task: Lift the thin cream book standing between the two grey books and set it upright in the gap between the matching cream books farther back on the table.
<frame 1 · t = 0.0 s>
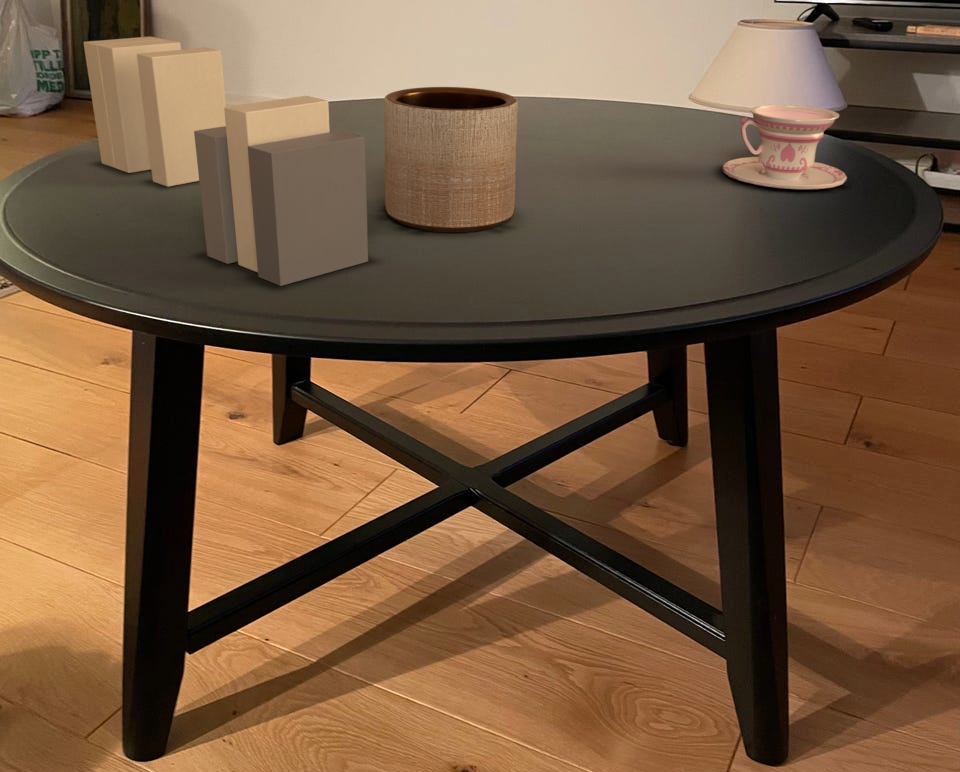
grey books: (287, 258, 76), on the table
planter: (449, 218, 87), on the table
cream book: (287, 258, 76), on the table
cream books: (173, 171, 97), on the table
teacup: (782, 178, 102), on the table
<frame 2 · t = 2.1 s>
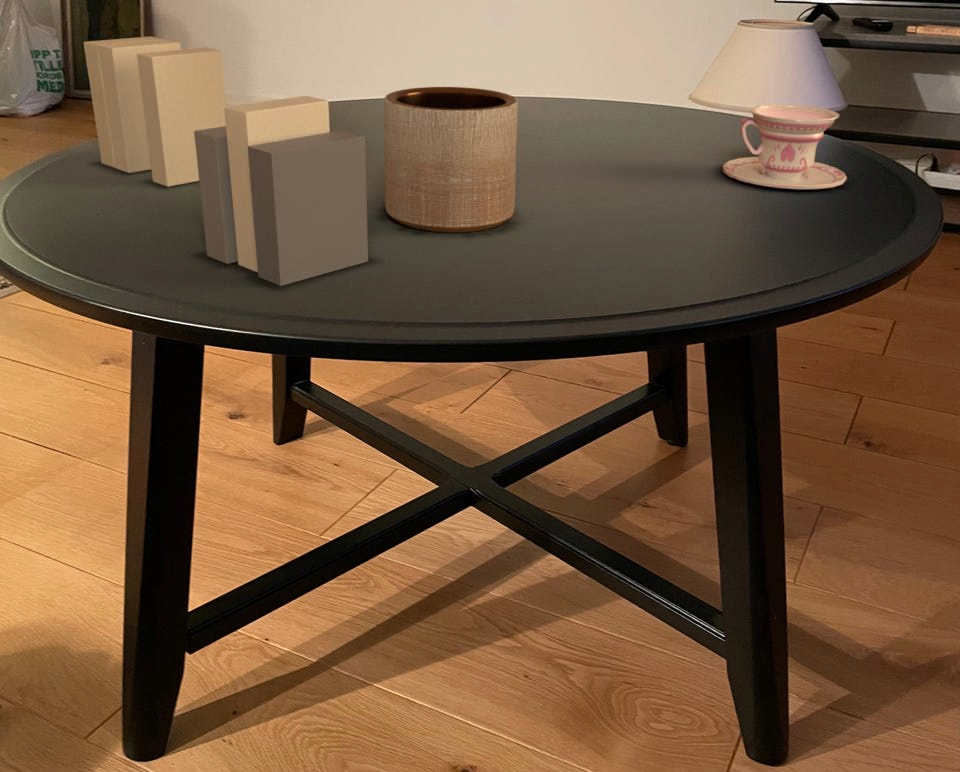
nothing on the table moved.
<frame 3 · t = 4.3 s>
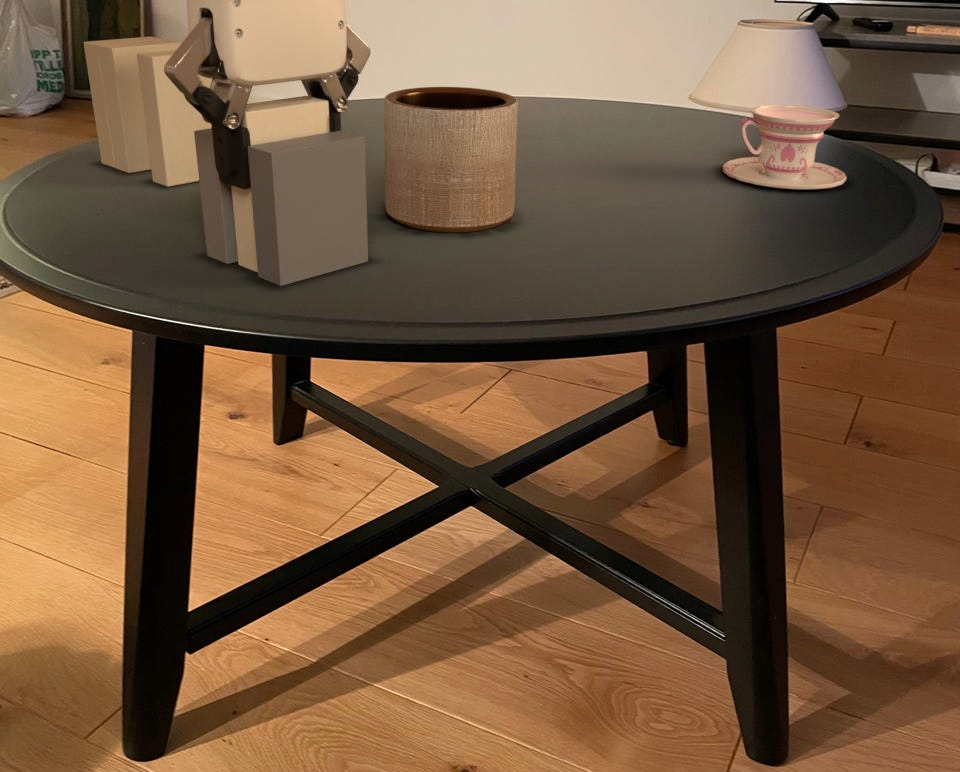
hand: (282, 174, 73), 6 cm above the table, tool pointing down, fingers closed on cream book, 7 cm apart
cream book: (287, 258, 76), on the table, touching gripper
everything else where it was.
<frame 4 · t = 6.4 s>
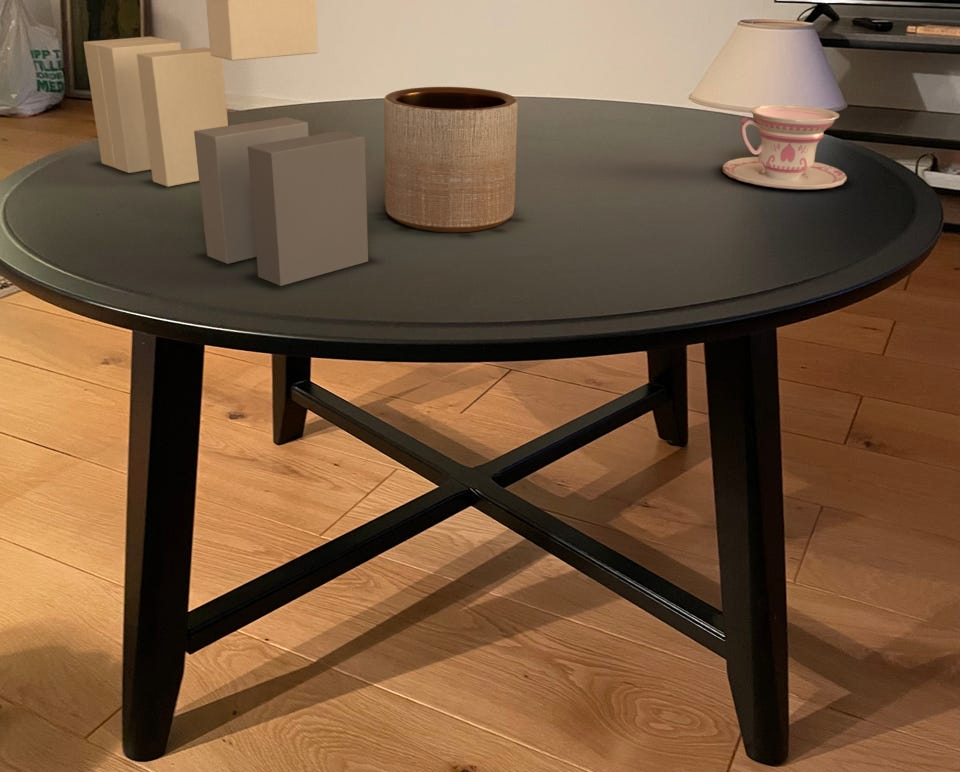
cream book: (265, 54, 69), point 14 cm above the table, touching gripper
everything else where it was.
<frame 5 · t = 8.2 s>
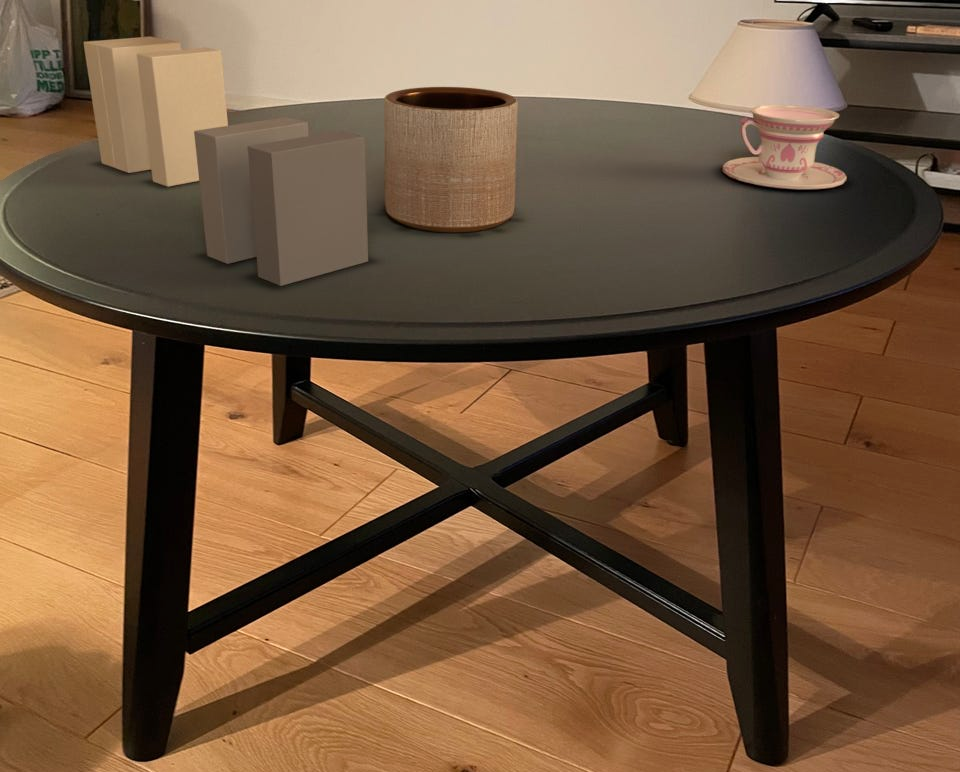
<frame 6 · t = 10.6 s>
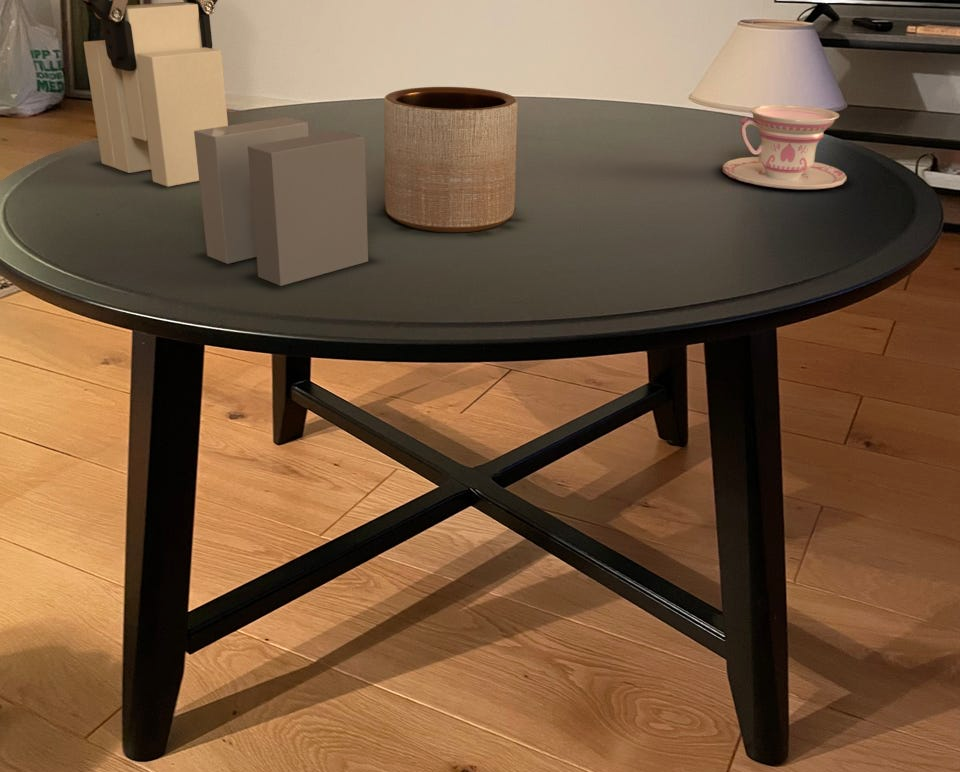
hand: (162, 63, 93), 10 cm above the table, tool pointing down, fingers closed on cream book, 7 cm apart
cream book: (171, 133, 96), point 3 cm above the table, touching gripper
everything else where it was.
when the fingers open (6 cm above the table, at t = 12.2 s): cream book stays where it is, on the table.
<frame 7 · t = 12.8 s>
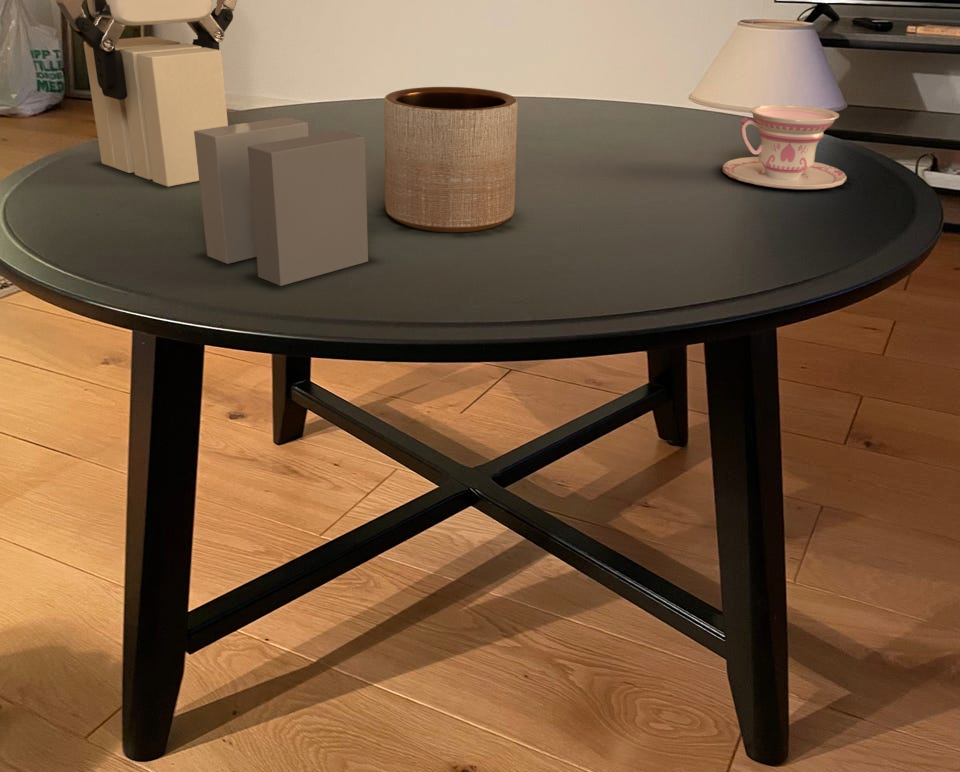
hand: (163, 91, 94), 7 cm above the table, tool pointing down, fingers open, 9 cm apart
cream book: (174, 171, 97), on the table
everything else where it was.
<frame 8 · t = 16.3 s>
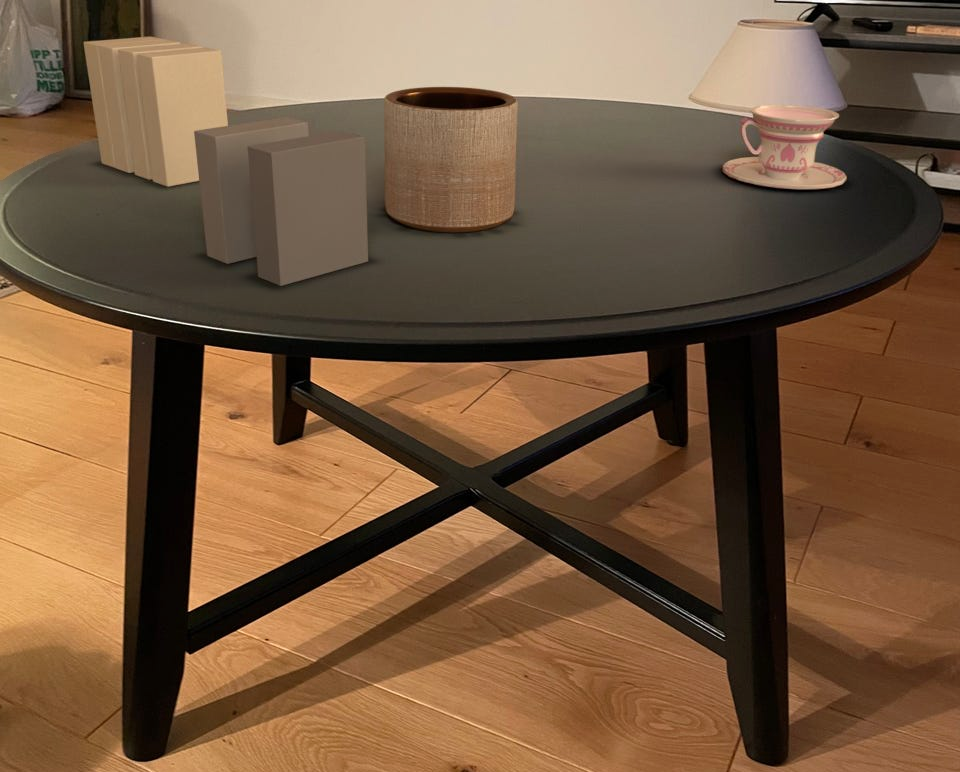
nothing on the table moved.
at the end: cream book 0.1 cm off-centre on the cream books, point 0.0 cm above the cream books's base; cream book tilted 0°; the gripper is holding nothing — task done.
